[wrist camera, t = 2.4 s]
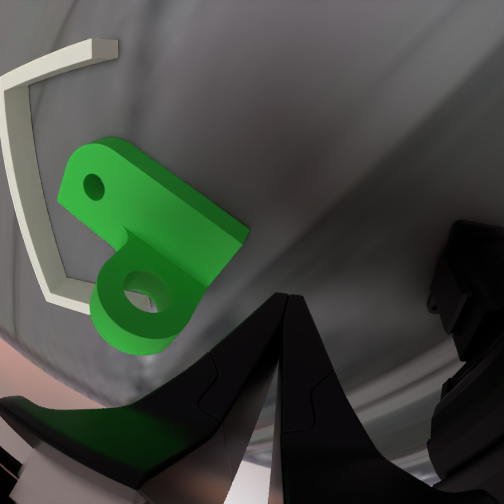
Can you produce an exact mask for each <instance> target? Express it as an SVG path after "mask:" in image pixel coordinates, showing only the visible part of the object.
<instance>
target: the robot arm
mask: <svg viewBox="0 0 504 504" xmlns="http://www.w3.org/2000/svg"><path fill="white" fill-rule="evenodd" d="M461 227H463V230H462V231H461V232H458V230H459V229H460V228H461ZM430 290H431V294H430V297H429V299H428V302H427V308H428V311H429V312H430V313H433V314H439V315H440V317H441V320H442V323H443V326H444V329H445V332H446V333H447V335H452V337H453V340H454V343H455V346H456V349H457V352H458V356H459V359H460V361H462V362H466V363H465V364H464V365H463V366H462V367H461V369H460V370H459V371H458V372H457V373H456V374H455V375H454V376H453V377H452V378H449V379H448V380H447V381H446V382H445V383H444V384H443V385H442V392H441V399H440V402H439V403H438V404H437V406H436V408H435V411H434V414H433V417H432V422H431V438H430V439H429V440H428V441H427V448H428V453H429V457H430V460H431V463H432V465H433V467H434V470H435V472H436V473H437V475H438V476H439V478H440V479H441V481H440V482H438V483H436V484H434V485H433V486H432V487H431V486H429V485H428V484H426V483H424V482H422V481H421V480H419V479H417V478H416V477H414V476H412V475H411V474H409V473H408V472H406V471H404V470H403V469H401V468H399V467H398V466H396V465H395V464H393V463H392V462H390V461H388V460H387V459H386V458H385V457H384V456H382V454H381V453H380V452H379V451H378V450H377V449H376V447H375V446H374V444H373V442H372V441H371V439H370V437H369V436H368V434H367V432H366V431H365V429H364V427H363V426H362V424H361V422H360V420H359V419H358V417H357V415H356V414H355V412H354V410H353V409H352V407H351V405H350V403H349V401H348V399H347V398H346V396H345V394H344V391H343V389H342V387H341V385H340V383H339V380H338V378H337V375H336V373H335V372H334V368H333V366H332V364H331V361H330V359H329V356H328V354H327V351H326V349H325V347H324V344H323V342H322V340H321V337H320V335H319V332H318V330H317V328H316V325H315V323H314V321H313V318H312V316H311V314H310V311H309V309H308V307H307V304H306V302H305V300H304V297H303V296H301V295H294V294H290V295H288V294H287V293H279V292H276V293H274V294H273V295H272V296H271V297H270V298H269V299H267V300H266V301H265V302H264V303H263V304H262V305H261V306H260V307H259V308H258V309H256V310H255V311H254V312H253V313H252V314H251V315H250V316H249V317H247V318H246V319H245V320H244V321H243V322H242V323H241V324H240V325H238V326H237V327H236V328H235V329H234V330H233V331H232V332H231V333H229V334H228V335H227V336H226V337H225V338H224V339H223V340H221V341H220V342H219V343H218V344H217V345H216V346H214V347H213V348H212V349H211V350H210V352H207V353H206V354H205V355H204V356H203V357H201V358H200V359H199V360H198V361H197V362H195V363H194V364H193V365H192V366H190V367H189V368H188V369H186V370H185V371H183V372H182V373H180V374H179V375H178V376H176V377H175V378H173V379H172V380H170V381H168V382H167V383H165V384H164V385H162V386H161V387H159V388H157V389H156V390H154V391H153V392H151V393H149V394H148V395H146V396H145V397H143V398H141V399H139V400H138V401H136V402H134V403H131V404H129V405H126V406H122V407H117V408H102V409H77V410H55V409H48V408H44V407H41V406H38V405H36V404H34V403H33V402H31V401H29V400H28V399H26V398H24V397H22V396H9V397H3V398H1V399H0V416H1V417H2V418H3V419H4V420H5V421H6V423H7V424H8V425H9V426H10V427H11V428H12V429H13V430H14V431H15V432H16V433H17V434H19V436H21V438H23V439H24V440H25V441H26V442H27V443H28V444H29V445H30V446H31V447H32V450H31V452H30V453H29V455H28V457H27V458H26V460H25V461H24V463H23V464H21V463H20V462H19V461H17V460H16V459H15V458H14V457H13V456H11V455H10V454H9V453H8V452H7V451H5V450H4V449H3V448H2V447H1V446H0V504H223V503H224V501H225V499H226V497H227V494H228V492H229V490H230V487H231V485H232V482H233V480H234V478H235V475H236V473H237V471H238V468H239V466H240V463H241V461H242V458H243V456H244V453H245V451H246V448H247V446H248V443H249V441H250V438H251V436H252V433H253V431H254V428H255V425H256V423H257V420H258V417H259V415H260V412H261V409H262V407H263V404H264V401H265V399H266V396H267V393H268V390H269V388H270V385H271V382H272V379H273V376H274V374H275V371H276V368H277V364H278V361H279V365H278V380H277V396H276V411H275V425H274V439H273V452H272V464H271V475H270V487H269V498H268V504H504V228H499V227H494V226H489V225H484V224H479V223H474V222H469V221H463V220H459V221H457V222H455V223H454V225H453V227H452V231H451V234H450V238H449V241H448V245H447V248H446V251H445V253H444V254H443V255H442V256H441V259H440V262H439V265H438V268H437V271H436V274H435V277H434V280H433V282H432V285H431V288H430ZM433 305H436V306H434V307H432V306H433Z"/></svg>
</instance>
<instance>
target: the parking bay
mask: <svg viewBox="0 0 504 504" xmlns="http://www.w3.org/2000/svg"><path fill="white" fill-rule="evenodd" d="M116 58H118V40H112V39H96V38H91V39H88V40H85V41H82V42H79V43H76V44H73V45H71V46H68V47H65V48H63V49H60V50H57V51H55V52H52V53H50V54H47V55H45V56H43V57H40V58H38V59H36V60H34V61H31V62H29V63H27V64H25V65H23V66H21V67H18V68H16V69H14V70H12V71H10V72H8V73H6V74H5V75H3V76H1V77H0V138H1V145H2V151H3V157H4V163H5V168H6V173H7V178H8V182H9V187H10V191H11V196H12V200H13V204H14V208H15V211H16V215H17V219H18V222H19V226H20V229H21V232H22V236H23V239H24V242H25V245H26V248H27V251H28V254H29V257H30V260H31V263H32V266H33V268H34V271H35V274H36V276H37V279H38V282H39V284H40V287H41V289H42V292H43V294H44V296H45V299H46V301H48V302H51V303H54V304H57V305H60V306H63V307H66V308H69V309H72V310H75V311H79V312H82V313H85V314H88V315H90V308H89V304H90V297H91V294H92V291H93V288H94V285H95V284H94V283H89V282H85V281H81V280H77V279H72V278H68V277H67V276H66V273H65V270H64V267H63V264H62V261H61V258H60V255H59V252H58V248H57V245H56V241H55V238H54V234H53V231H52V227H51V223H50V220H49V216H48V212H47V207H46V203H45V199H44V194H43V190H42V185H41V180H40V175H39V170H38V164H37V158H36V152H35V146H34V139H33V131H32V123H31V113H30V102H29V88H28V85H31V84H33V83H36V82H39V81H41V80H44V79H47V78H50V77H53V76H56V75H59V74H62V73H65V72H68V71H71V70H75V69H78V68H81V67H85V66H89V65H92V64H96V63H100V62H104V61H108V60H112V59H116ZM124 292H125V295H126V297H127V298H128V300H129V301H130V302H131V303H132V304H133V305H134V306H135V307H137V308H138V309H140V310H142V311H145V312H148V311H149V310H150V308H151V304H150V299H149V297H148V296H147V295H145V294H140V293H135V292H130V291H124Z"/></svg>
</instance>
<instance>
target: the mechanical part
mask: <svg viewBox="0 0 504 504" xmlns="http://www.w3.org/2000/svg"><path fill="white" fill-rule="evenodd" d="M100 179H101V180H102V182H103V184H104V186H103V185H102V183H101V181H100ZM57 201H58V202H59V203H60V204H61V205H63V206H64V207H65V208H66V209H67V210H68V211H70V212H71V213H72V214H73V215H74V216H76V217H77V218H78V219H79V220H80V221H82V222H83V223H84V224H85V225H87V226H88V227H89V228H90V229H91V230H93V231H94V232H95V233H96V234H98V235H99V236H100V237H101V238H103V239H104V240H105V241H106V242H108V243H109V244H110V245H111V246H113V247H114V249H115V250H116V251H117V252H116V253H115V254H114V255H113V256H112V257H111V258H110V259H109V260H108V261H107V262H106V263H105V264H104V265H103V267H102V268H101V270H100V272H99V274H98V277H97V280H96V283H95V285H94V288H93V291H92V294H91V297H90V304H89V308H90V315H91V318H92V321H93V324H94V326H95V328H96V329H97V331H98V332H99V334H100V335H101V336H102V337H103V338H104V339H105V340H106V341H107V342H108V343H109V344H110V345H112V346H113V347H115V348H117V349H118V350H120V351H123V352H125V353H129V354H133V355H140V356H146V355H152V354H156V353H159V352H161V351H163V350H164V349H166V348H167V347H168V346H169V345H170V344H171V343H172V341H173V340H174V339H175V338H176V337H177V336H178V334H179V333H180V332H181V331H182V330H183V329H184V327H185V326H186V325H187V323H188V322H189V320H190V318H191V316H192V314H193V313H194V311H195V309H196V307H197V305H198V303H199V302H200V300H201V298H202V296H203V294H204V293H205V291H206V289H207V287H208V286H209V285H210V284H211V283H212V281H213V280H214V279H215V278H216V276H217V275H218V274H219V273H220V272H221V270H222V269H223V268H224V267H225V266H226V264H227V263H228V262H229V261H230V259H231V258H232V257H233V256H234V255H235V253H236V252H237V251H238V250H239V249H240V247H241V246H242V245H243V243H244V241H245V239H246V237H247V235H248V233H249V231H250V229H248V228H247V227H245V226H244V225H243V224H241V223H240V222H239V221H237V220H236V219H235V218H233V217H232V216H230V215H229V214H228V213H226V212H225V211H224V210H222V209H221V208H220V207H218V206H217V205H215V204H214V203H213V202H211V201H210V200H209V199H207V198H206V197H204V196H203V195H202V194H200V193H199V192H198V191H196V190H195V189H193V188H192V187H191V186H189V185H188V184H186V183H185V182H184V181H182V180H181V179H180V178H178V177H177V176H175V175H174V174H173V173H171V172H170V171H168V170H167V169H166V168H164V167H163V166H161V165H160V164H159V163H157V162H156V161H154V160H153V159H152V158H150V157H149V156H147V155H146V154H145V153H143V152H142V151H140V150H139V149H138V148H136V147H135V146H133V145H132V144H131V143H129V142H127V141H125V140H123V139H120V138H116V137H106V138H102V139H100V140H97V141H94V142H92V143H89V144H86V145H84V146H82V147H80V148H78V149H77V150H76V151H75V152H74V153H73V154H72V156H71V157H70V159H69V161H68V163H67V166H66V170H65V173H64V177H63V180H62V184H61V187H60V191H59V195H58V199H57ZM126 290H136V291H139V292H142V293H144V294H145V295H147V296H148V297H149V298H150V299H151V300H152V301H153V302H154V303H155V305H156V307H157V310H158V313H149V312H145V311H142V310H140V309H138V308H137V307H135V306H134V305H133V304H132V303H131V302H130V301H129V300H128V298H127V297H126V295H125V292H124V291H126Z"/></svg>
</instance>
